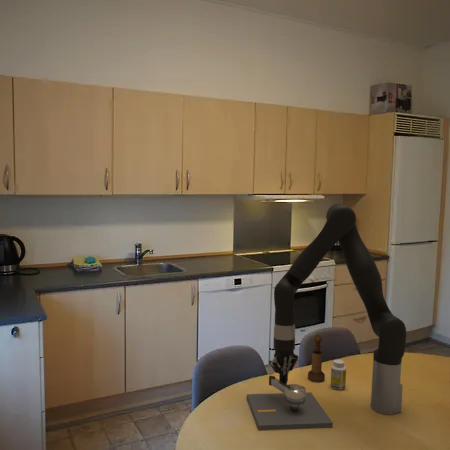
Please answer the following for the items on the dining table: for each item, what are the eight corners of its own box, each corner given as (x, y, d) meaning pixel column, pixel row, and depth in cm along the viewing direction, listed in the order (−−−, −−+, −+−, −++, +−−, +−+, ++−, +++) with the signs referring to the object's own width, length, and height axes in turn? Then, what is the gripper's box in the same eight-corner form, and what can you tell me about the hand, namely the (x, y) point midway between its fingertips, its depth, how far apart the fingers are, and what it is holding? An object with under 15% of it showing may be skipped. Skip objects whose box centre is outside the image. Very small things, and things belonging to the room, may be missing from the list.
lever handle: (309, 411, 150) (310, 390, 150) (293, 416, 147) (294, 394, 146) (277, 391, 165) (277, 372, 164) (261, 395, 161) (262, 376, 161)
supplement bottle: (342, 384, 177) (343, 358, 177) (347, 390, 172) (348, 364, 171) (328, 384, 177) (329, 358, 176) (333, 390, 171) (334, 364, 171)
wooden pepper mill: (312, 383, 177) (314, 338, 176) (305, 376, 184) (306, 333, 182) (327, 381, 179) (329, 337, 178) (319, 375, 185) (321, 332, 184)
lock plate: (310, 396, 166) (311, 391, 166) (332, 427, 144) (332, 422, 144) (246, 398, 163) (246, 393, 163) (258, 430, 141) (258, 425, 141)
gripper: (289, 330, 166) (288, 375, 167) (263, 336, 158) (262, 384, 159) (305, 335, 160) (304, 382, 161) (278, 342, 152) (277, 392, 153)
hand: (283, 383), depth 160 cm, fingers closed
